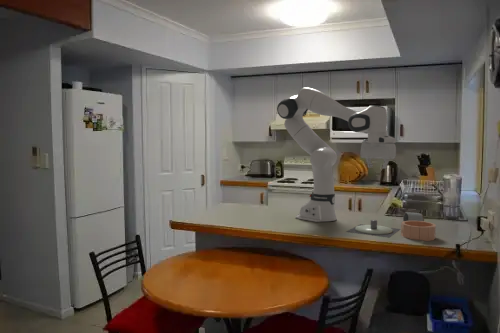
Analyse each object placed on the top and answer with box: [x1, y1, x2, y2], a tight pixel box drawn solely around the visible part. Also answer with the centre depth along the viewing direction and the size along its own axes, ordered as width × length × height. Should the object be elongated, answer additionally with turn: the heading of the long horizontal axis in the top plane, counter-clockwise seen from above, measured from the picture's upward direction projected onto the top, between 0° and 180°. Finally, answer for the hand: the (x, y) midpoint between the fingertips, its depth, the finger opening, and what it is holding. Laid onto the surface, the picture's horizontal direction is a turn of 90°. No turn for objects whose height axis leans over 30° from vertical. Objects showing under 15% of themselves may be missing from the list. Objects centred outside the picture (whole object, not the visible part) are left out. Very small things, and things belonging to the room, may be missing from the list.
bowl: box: [400, 220, 437, 242], centre depth 185 cm, size 14×14×6 cm
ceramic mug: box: [402, 211, 425, 222], centre depth 206 cm, size 11×8×8 cm
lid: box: [355, 219, 393, 235], centre depth 196 cm, size 17×17×5 cm
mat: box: [345, 224, 401, 239], centre depth 196 cm, size 20×20×1 cm
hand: (377, 167), depth 198 cm, fingers open, 8 cm apart
